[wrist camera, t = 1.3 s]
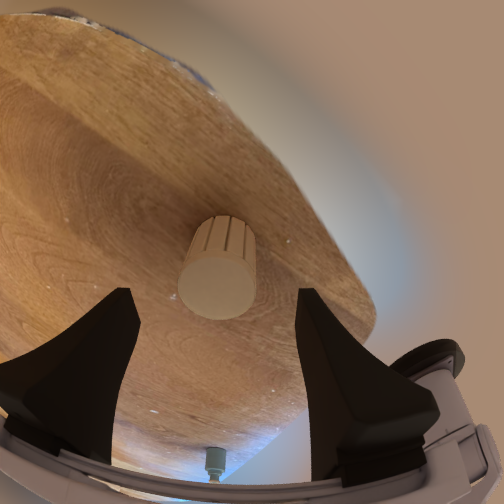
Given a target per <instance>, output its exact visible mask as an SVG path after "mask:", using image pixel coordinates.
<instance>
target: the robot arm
mask: <svg viewBox="0 0 504 504" xmlns="http://www.w3.org/2000/svg"><path fill="white" fill-rule="evenodd" d="M140 324H141V321H140V318H139V315H138V312H137V310H136V307H135V303H134V300H133V297H132V294H131V291H130V288H116V289H115V290H114V291H112V292H111V293H110V294H109V295H107V296H106V297H105V298H104V299H103V300H101V301H100V302H99V303H98V304H97V305H96V306H94V307H93V308H92V309H91V310H90V311H89V312H87V313H86V314H85V315H84V316H83V317H81V318H80V319H79V320H78V321H76V322H75V323H74V324H73V325H71V326H70V327H69V328H67V329H66V330H65V331H63V332H62V333H61V334H59V335H58V336H56V337H55V338H53V339H52V340H50V341H48V342H47V343H45V344H43V345H41V346H40V347H38V348H36V349H34V350H32V351H30V352H28V353H26V354H24V355H22V356H20V357H17V358H15V359H13V360H10V361H7V362H4V363H1V364H0V407H1V408H2V409H3V410H4V411H5V412H6V413H7V414H9V415H8V417H7V419H6V418H4V417H3V416H2V415H0V470H1V471H2V472H4V473H5V474H6V475H8V476H9V477H11V478H12V479H14V480H15V481H17V482H18V483H20V484H21V485H23V486H24V487H25V488H27V489H29V490H30V491H32V492H33V493H35V494H37V495H38V496H40V497H42V498H44V499H46V500H47V501H49V502H51V503H53V504H160V503H155V502H151V501H146V500H142V499H138V498H134V497H130V496H128V495H126V494H123V493H121V492H119V491H117V490H115V489H113V488H111V487H110V486H108V485H107V484H105V483H102V482H100V481H97V480H95V479H98V480H101V481H104V482H108V483H111V484H114V485H118V486H121V487H125V488H129V489H133V490H137V491H141V492H145V493H150V494H155V495H160V496H166V497H171V498H178V499H185V500H192V501H201V502H212V503H227V504H228V503H229V504H278V503H280V504H485V503H486V502H487V500H488V499H489V497H490V496H491V495H492V493H493V492H494V490H495V489H496V487H497V486H498V484H499V483H500V480H501V478H502V474H503V470H502V467H501V464H500V457H499V453H498V450H497V447H496V444H495V441H494V439H493V437H492V434H491V432H490V430H489V428H488V426H487V425H482V424H479V425H478V426H476V425H474V423H473V421H472V418H471V416H470V413H469V411H468V408H467V406H466V404H465V402H464V399H463V397H462V395H461V393H460V391H459V389H458V386H457V384H456V382H455V380H454V378H453V376H452V374H453V356H452V355H448V356H447V357H445V358H443V359H442V360H440V361H438V362H436V363H434V364H433V365H431V366H429V367H427V368H425V369H423V370H421V371H420V372H418V373H416V374H414V375H412V376H410V377H408V378H405V377H404V376H402V375H401V374H399V373H397V372H396V371H394V370H393V369H391V368H390V367H388V366H387V365H385V364H384V363H383V362H382V361H380V360H379V359H377V358H376V357H375V356H373V355H372V354H371V353H370V352H369V351H368V350H366V349H365V348H364V347H363V346H362V345H361V344H360V343H359V342H358V341H357V340H356V339H355V338H354V337H353V336H352V335H351V334H350V333H349V332H348V331H347V330H346V328H345V327H344V326H343V325H342V324H341V323H340V322H339V320H338V319H337V318H336V317H335V316H334V314H333V313H332V312H331V311H330V309H329V308H328V307H327V305H326V304H325V303H324V301H323V300H322V299H321V297H320V296H319V294H318V293H317V292H316V290H315V289H314V288H299V291H298V301H297V310H296V319H295V332H296V342H297V349H298V354H299V358H300V363H301V368H302V372H303V377H304V382H305V386H306V392H307V398H308V409H309V422H310V438H311V469H312V470H311V472H312V473H311V482H304V483H292V484H274V485H230V484H229V485H228V484H213V483H201V482H192V481H183V480H176V479H170V478H164V477H158V476H153V475H148V474H143V473H138V472H134V471H130V470H125V469H122V468H118V467H114V466H111V451H112V433H113V423H114V416H115V410H116V404H117V399H118V394H119V390H120V386H121V383H122V380H123V377H124V374H125V371H126V369H127V366H128V363H129V360H130V358H131V355H132V352H133V350H134V347H135V344H136V341H137V337H138V333H139V329H140ZM484 476H485V477H484ZM90 477H92V478H95V479H92V478H90ZM482 477H484V478H483V480H482V481H480V482H479V483H478V484H476V485H475V486H473V487H470V484H471V483H473V482H475V481H477V480H478V479H480V478H482Z"/></svg>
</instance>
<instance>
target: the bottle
mask: <svg viewBox="0 0 504 504" xmlns="http://www.w3.org/2000/svg"><path fill="white" fill-rule="evenodd" d="M225 462H226V451H225V450H224V449H221V448H208V449H207V454H206V465H205V470H206V471H208V475H210V480H209V483H213V484H219V483H220V481H219V476H221V475H222V473H223V472H225Z"/></svg>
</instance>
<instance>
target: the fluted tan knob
mask: <svg viewBox="0 0 504 504" xmlns="http://www.w3.org/2000/svg"><path fill="white" fill-rule="evenodd" d="M177 287H178V292H179V295H180V298H181V300H182V301H183V303H184V304H185V305H186V306H187V307H188V308H189V309H190V310H191V311H193V312H194V313H196V314H198V315H200V316H202V317H205V318H208V319H214V320H226V319H232V318H235V317H238V316H240V315H241V314H243V313H245V312H246V311H247V310H248V309H249V308H250V307H251V305H252V304H253V302H254V300H255V297H256V238H254V233H253V232H252V230H251V229H250V227H249V226H248V225H246V226H245V222H243V221H241V220H239V219H237V218H235V217H232V218H231V220H230V216H216V217H215V219H214V218H213V217H211V218H210V219H208V220H206V221H205V222H203V223H202V224H201V226H199V227H198V229H197V231H196V233H195V235H194V237H193V240H192V242H191V245H190V248H189V250H188V253H187V255H186V258H185V260H184V263H183V266H182V268H181V271H180V275H179V278H178V283H177Z"/></svg>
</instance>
